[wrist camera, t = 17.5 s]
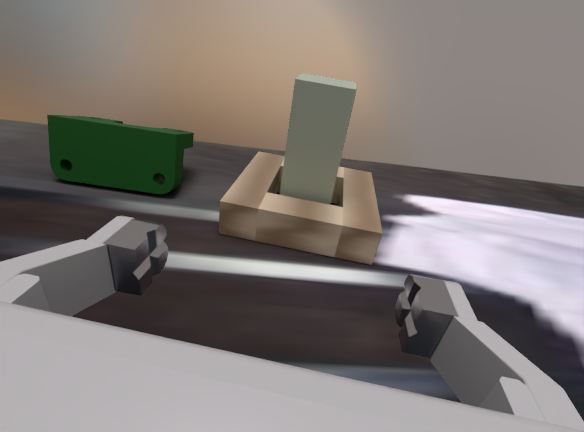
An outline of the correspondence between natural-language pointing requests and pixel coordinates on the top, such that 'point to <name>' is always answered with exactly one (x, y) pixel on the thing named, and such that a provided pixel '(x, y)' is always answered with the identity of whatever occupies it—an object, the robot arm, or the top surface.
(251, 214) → the socket block
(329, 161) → the peg
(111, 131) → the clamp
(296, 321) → the top surface
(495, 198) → the top surface
